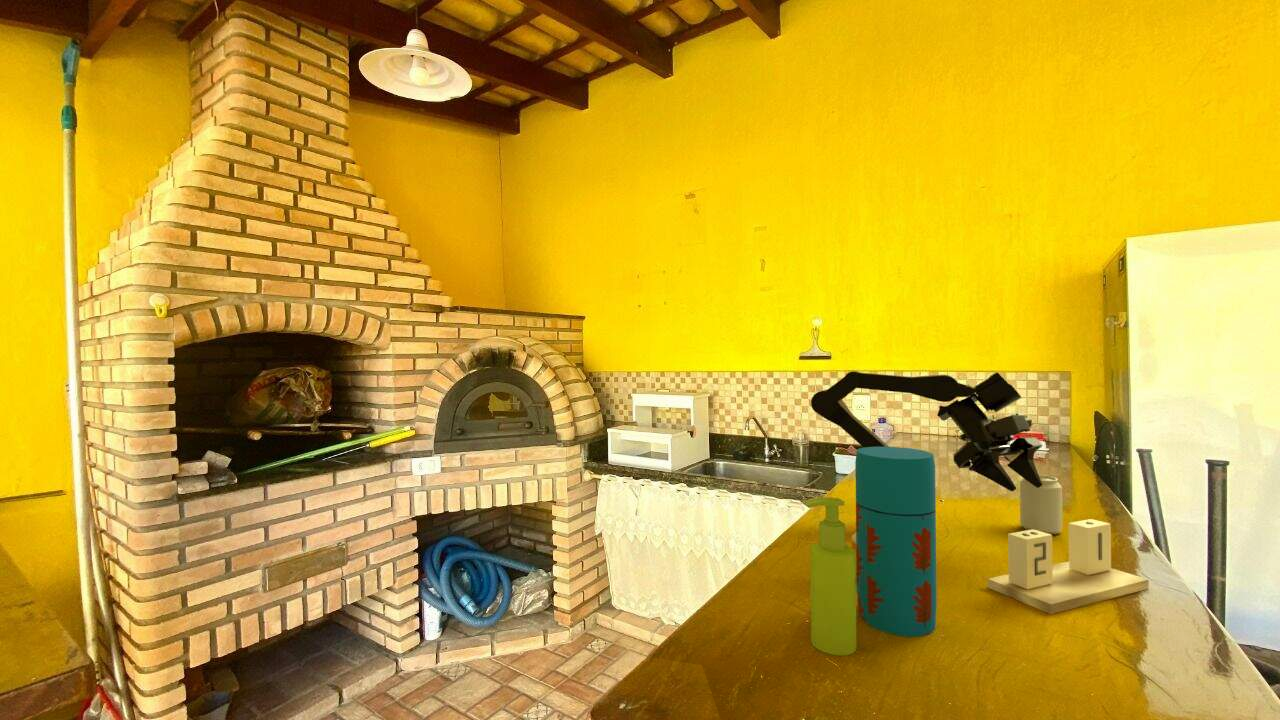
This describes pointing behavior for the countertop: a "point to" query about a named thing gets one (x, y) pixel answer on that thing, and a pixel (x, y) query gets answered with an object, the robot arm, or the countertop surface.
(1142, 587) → the beige wooden board
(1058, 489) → the can
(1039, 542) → the cream numbered block 2
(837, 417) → the robot arm
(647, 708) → the countertop surface
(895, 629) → the thermos
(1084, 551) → the cream numbered block 1
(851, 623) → the soap dispenser
